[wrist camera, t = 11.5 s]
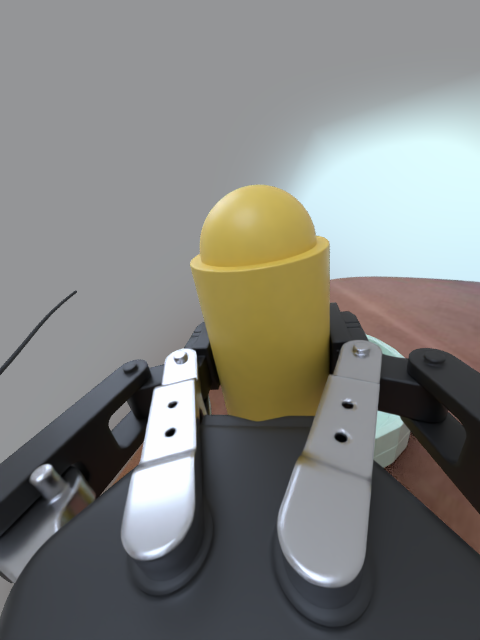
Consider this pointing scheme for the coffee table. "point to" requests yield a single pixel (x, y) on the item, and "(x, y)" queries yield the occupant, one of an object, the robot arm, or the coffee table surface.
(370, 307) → the coffee table surface
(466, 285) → the coffee table surface
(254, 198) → the corn cob
